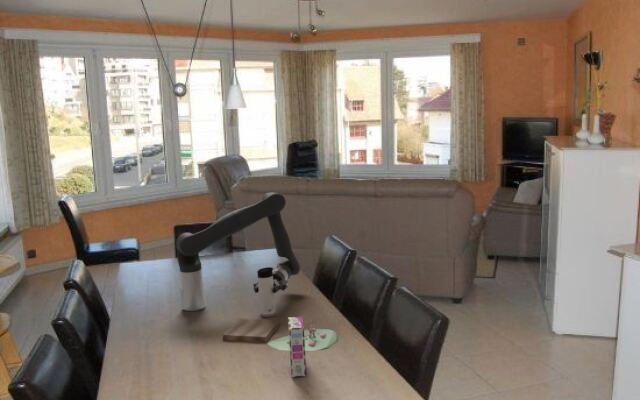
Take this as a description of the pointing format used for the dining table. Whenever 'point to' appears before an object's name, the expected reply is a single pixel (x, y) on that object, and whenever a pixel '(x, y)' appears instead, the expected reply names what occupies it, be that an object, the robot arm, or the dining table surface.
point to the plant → (309, 339)
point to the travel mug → (266, 292)
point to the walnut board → (251, 330)
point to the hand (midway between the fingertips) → (264, 290)
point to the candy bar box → (297, 347)
